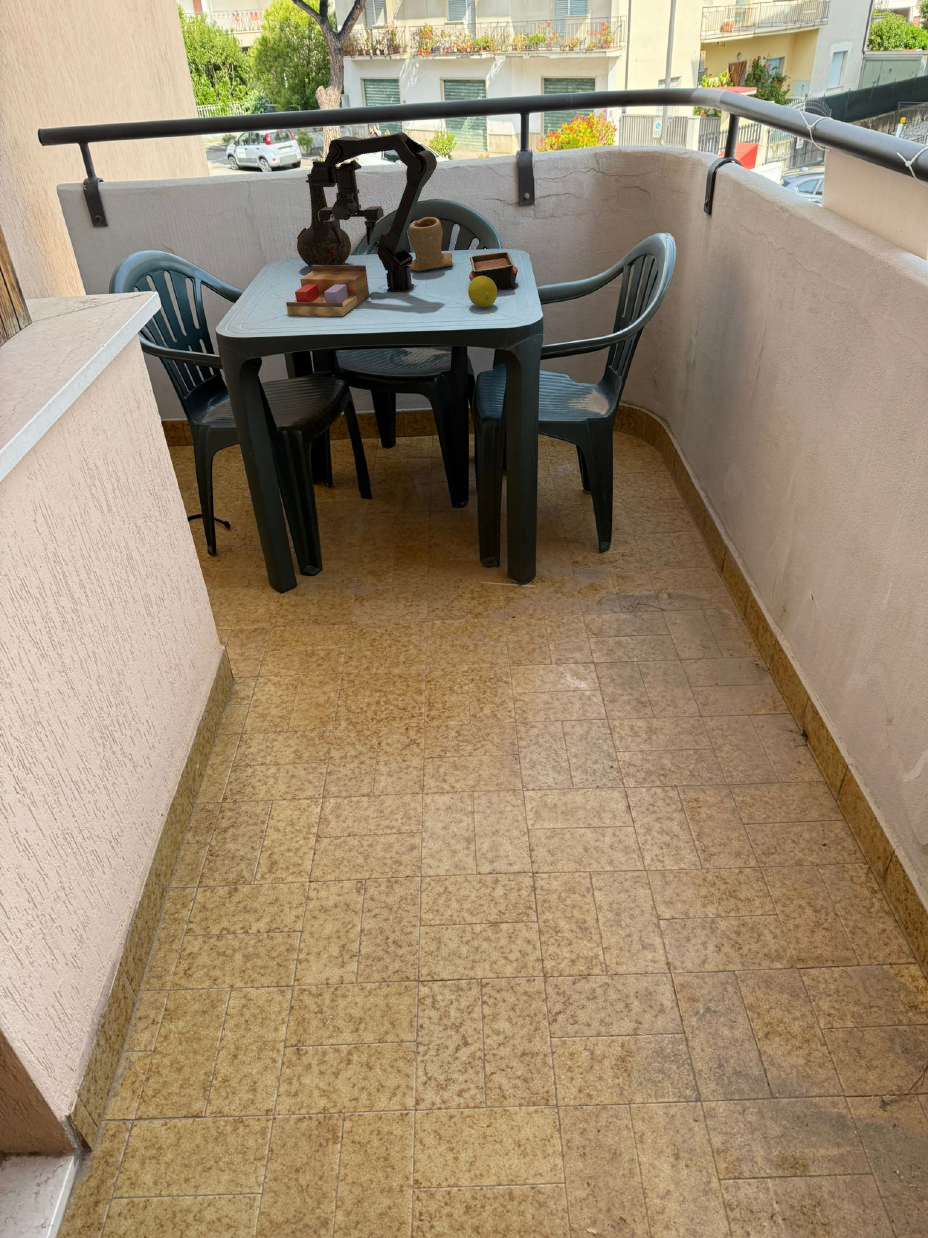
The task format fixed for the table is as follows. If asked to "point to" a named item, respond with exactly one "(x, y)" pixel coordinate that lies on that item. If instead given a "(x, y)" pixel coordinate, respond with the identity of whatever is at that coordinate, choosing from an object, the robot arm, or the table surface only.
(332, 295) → the lilac nougat bar
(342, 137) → the robot arm
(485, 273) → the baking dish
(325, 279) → the pine rack
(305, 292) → the red nougat bar
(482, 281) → the lemon
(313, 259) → the glass bottle
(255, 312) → the table surface
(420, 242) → the tan hollow boot-shaped piece
